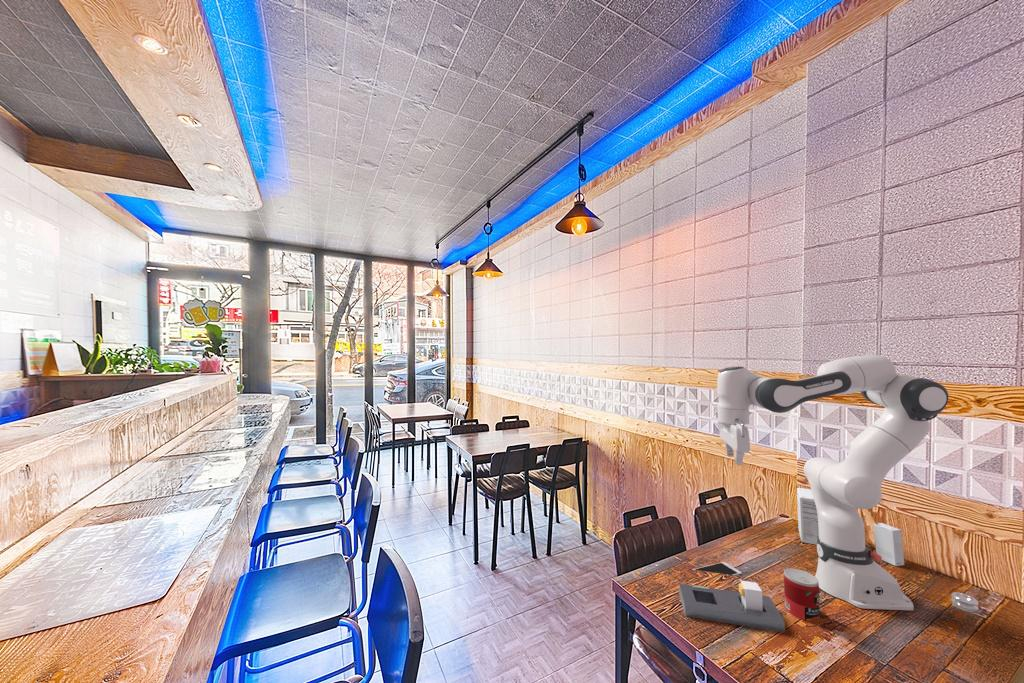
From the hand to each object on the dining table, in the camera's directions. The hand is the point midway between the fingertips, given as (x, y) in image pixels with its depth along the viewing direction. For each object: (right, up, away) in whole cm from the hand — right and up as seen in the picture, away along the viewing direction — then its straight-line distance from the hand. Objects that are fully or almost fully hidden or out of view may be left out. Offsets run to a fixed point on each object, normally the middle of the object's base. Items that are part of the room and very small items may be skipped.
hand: (734, 460), depth 120 cm
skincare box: (+62, -40, +12) cm, 75 cm away
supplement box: (+51, -41, +28) cm, 71 cm away
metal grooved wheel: (+60, -39, -12) cm, 73 cm away
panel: (-10, -39, -15) cm, 43 cm away
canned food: (+10, -39, -15) cm, 43 cm away
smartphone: (-3, -41, +6) cm, 41 cm away
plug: (-5, -38, -16) cm, 42 cm away
